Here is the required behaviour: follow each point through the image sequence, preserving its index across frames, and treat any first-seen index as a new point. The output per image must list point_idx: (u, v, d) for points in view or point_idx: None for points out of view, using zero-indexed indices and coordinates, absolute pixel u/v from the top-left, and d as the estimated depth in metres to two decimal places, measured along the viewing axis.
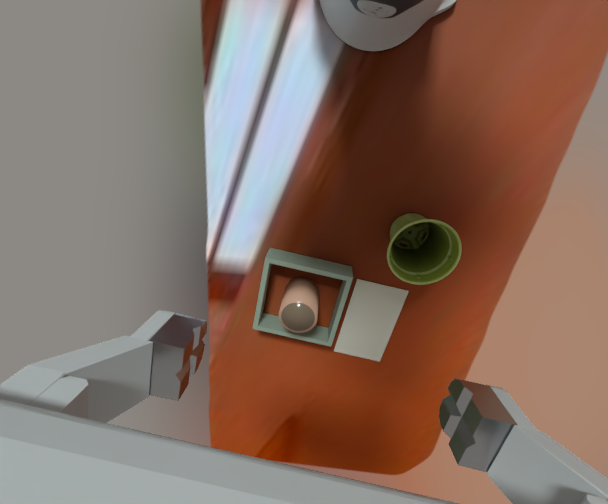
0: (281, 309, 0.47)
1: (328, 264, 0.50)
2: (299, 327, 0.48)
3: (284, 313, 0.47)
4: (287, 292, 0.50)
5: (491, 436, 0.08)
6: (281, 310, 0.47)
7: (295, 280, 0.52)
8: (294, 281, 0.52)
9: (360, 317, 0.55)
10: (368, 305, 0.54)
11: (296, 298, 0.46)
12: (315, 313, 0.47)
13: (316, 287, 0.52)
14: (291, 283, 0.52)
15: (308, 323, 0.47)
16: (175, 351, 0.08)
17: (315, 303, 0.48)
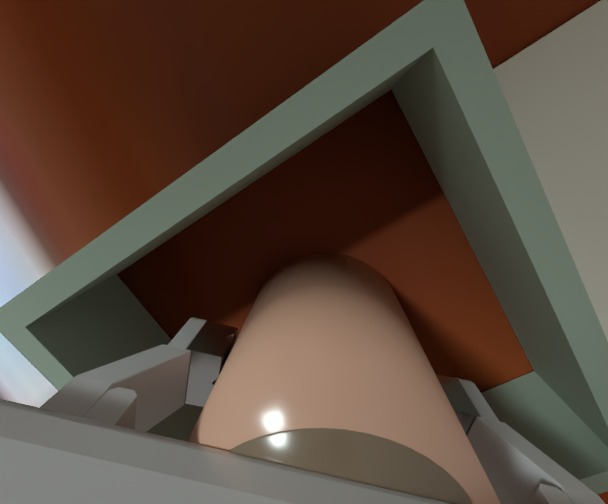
0: None
1: None
2: None
3: None
4: None
5: None
6: None
7: None
8: None
9: None
10: None
11: (200, 426, 0.05)
12: (421, 440, 0.05)
13: (346, 264, 0.11)
14: None
15: None
16: (212, 359, 0.08)
17: (370, 347, 0.06)
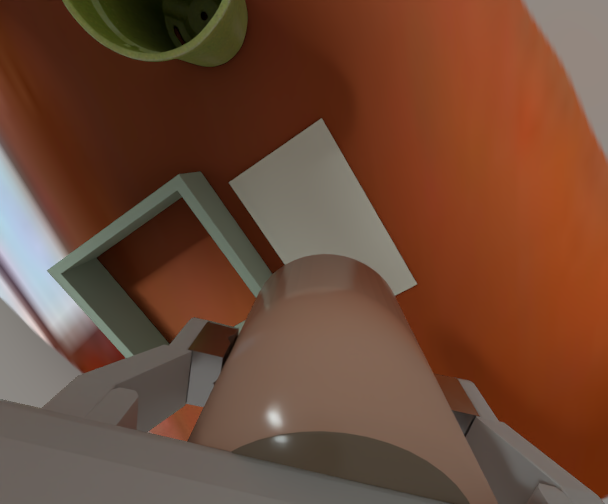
0: None
1: None
2: None
3: None
4: None
5: None
6: None
7: None
8: None
9: (303, 238, 0.26)
10: (291, 207, 0.25)
11: (199, 430, 0.05)
12: (420, 444, 0.05)
13: (346, 265, 0.11)
14: None
15: None
16: (214, 359, 0.08)
17: (369, 349, 0.06)
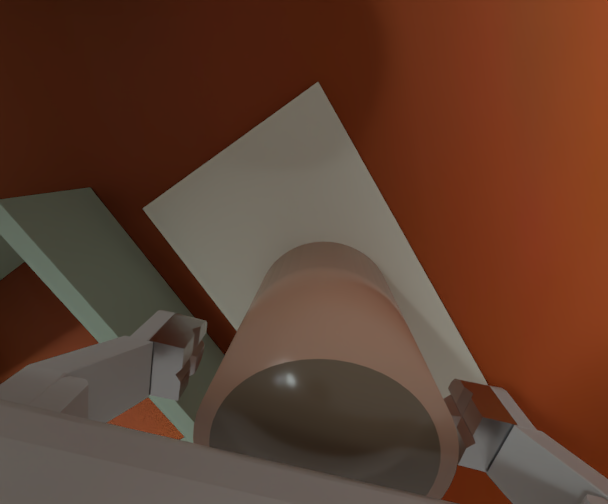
0: None
1: None
2: None
3: None
4: None
5: (491, 436, 0.08)
6: None
7: None
8: None
9: None
10: (261, 254, 0.14)
11: (223, 365, 0.07)
12: (392, 367, 0.06)
13: (341, 250, 0.12)
14: None
15: (414, 449, 0.07)
16: (175, 350, 0.08)
17: (357, 308, 0.08)
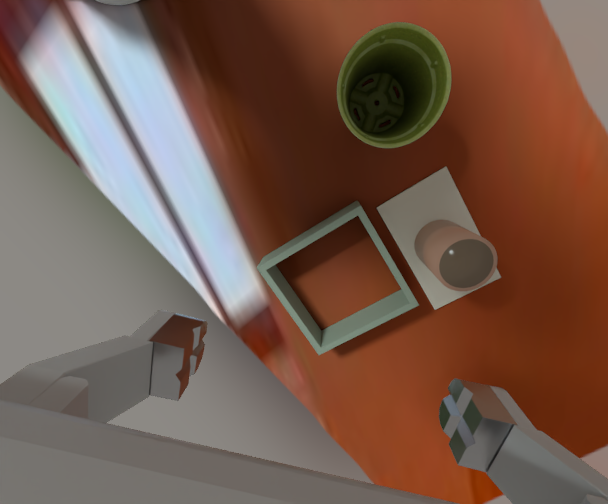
0: (437, 271, 0.31)
1: (329, 219, 0.37)
2: (480, 275, 0.31)
3: (445, 274, 0.31)
4: (424, 251, 0.34)
5: (491, 436, 0.08)
6: (438, 273, 0.31)
7: (420, 235, 0.37)
8: (420, 236, 0.36)
9: None
10: (418, 224, 0.37)
11: (443, 243, 0.31)
12: (484, 240, 0.30)
13: (451, 222, 0.36)
14: (419, 241, 0.36)
15: (487, 261, 0.30)
16: (175, 350, 0.08)
17: (471, 232, 0.31)
